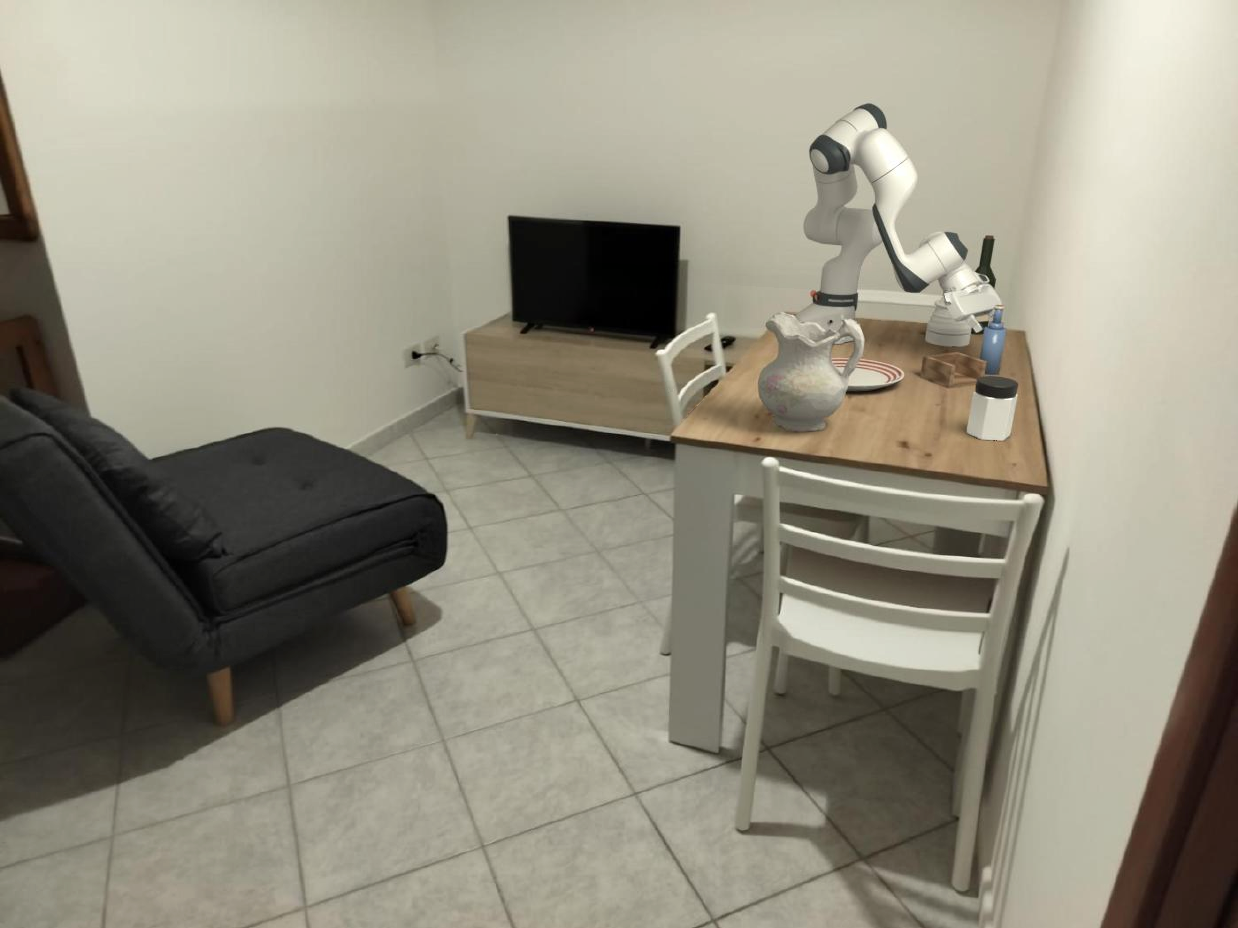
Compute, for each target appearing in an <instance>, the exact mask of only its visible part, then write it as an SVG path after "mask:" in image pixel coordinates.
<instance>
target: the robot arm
mask: <svg viewBox="0 0 1238 928" xmlns="http://www.w3.org/2000/svg"><path fill="white" fill-rule="evenodd" d="M808 153H809V154H808V155H809V160H810V162H811V164H812V171H813V177H814V182H815V186H816V193H817V201H816V204H815V206H814V207H812V208H811V209H810V210H809V211H808V212H807V213H806V215H805V217H804V220H803V224H802V225H803V227H802V228H803V232H804V234H805V237H806V238H807V240H809V241H812V242H815V243H818V244H821V245H830V246H831V245H833V246H841V249H840V252H839V255H836V256H835V257H833V258H830V259H829V260H828V261H826V262H825V263H824V265H823V266H822V268H821V276H820V286H819V287H820V288H819V290H818V291H817V290H814V289H813V290H811V291H810V293H809V294H810V297H811V298H812V303H810V304H809V305H807V306H806V307H805V308H803V309H801V310H800V311H798V312H796V314H795V315H794V316H795V317H796V319H797V320H798V322H800V323H802V322H816V323H818V324H819V325H820V326H821V327H822V328H823V329H825V331H832V330H834V331H836V332H837V331H838V330H839V329H840V327H841V326H842V324H843V321H842V320H844V319H852V318H853V319H855V320H856V311H857V308H858V303H859V293H858V285H859V279H860V273H861V269H862V266H863V263H864V261H865V259H866V258H867V257H868V255H869V254H870V253H871V252H872V251H873V250H874V249H875V248H877V247H878V246H879V245H881V244H882V243H883V245H884V248H885V250H886V254H887V255H888V257H889V260H890V263H891V265H892V270H893V275H894V277H895V280H896V282H897V284H898V286H899V287H900V288H901V290H903V291H904V292H905V293H910V294H918V293H919V294H920V293H921V292H923V290H925V289H926V288H927V287H929V286H930V285H931V284H932V283H934V282H936V281H938V284H939V287H940V288H941V289H942V297H943V298H944V304H945V306H946V308H947V310H948V312H949V314H950V315H951V317H952V318H953V320H955V321H956V322H959V321H963V320H965V322H966V323H967V324H968V325H969V326H971V327H972V328H973V329H974V331H975V332H976V333H978V332H981V331H982V330H983V329H984V327H983V326H982V324H981V323H980V324H979V323H978V322H977V321H976V320H975V317H980V316H984V315H988V316H989V317H990V319H991V321H993V317H994V311H995V309H994V306H995V305H1003V302H1002V299H1001V298H1000V296H999V294H998V293H997V291H996V290H995V289H994V288H993V287H992V286H991V285H990V284H987V283H988V282H989V279H988V277H987V276H985V275H982V274H978V273H976V272H975V271H974V270H973V269H972V267H971V266H970V265H969V264H967V263H966V258H967V255H968V252H969V249H968V248H967V247H966V246H965V245H964V243H963V242H962V241H961V239H960V238H959V237H960V236H959V235H958V233H956V232H953V231H941V230H937V231H935V232H934V231H933V232H932V233H930V234H928V235H927V236H925V237H924V238H923V239H922V241H921V242H920V243H919V245H918V248H917V249H916V250H914V251H912V252H911V253H908V254H907V253H905V251H904V248H903V246H902V242H901V241H900V239H899V236H898V233H897V230H896V220H897V217H898V216H899V214H900V212H901V211H902V209H903V208H904V207H905V205H906V204H907V203H908V202H909V200H910V199H911V197H912V196H913V194H914V192H915V191H916V188H917V185H918V183H919V182H918V180H919V174H918V172H917V169H916V167H915V165H914V162H913V161H912V160H911V157H910V156H909V154H908V153H907V152H906V150H905V149H904V147H903V146H902V145H901V143H900V142H899V141H898V140H897V138H895V137H894V135H893V134H892V133H891V132H889V131H888V123H887V118H886V116H885V113H884V112H883V110H882V109H881V108H880V107H879V106H877V105H876V104H874V103H869V102H867V103H864V104H861V105H859V106H856V107H855V108H854V109H853V110H851V111H850V112H848V113H846V114H845V115H844V116H842V117H841V118H839V119H837V120H836V121H835V123H833V124H832V125H831V126H830V127H828V128H827V129H826V130H825V131H824V132H823V133H822V134H820V135H818V136H817V137H816V138H815V139H814V140H813V142H812V143H811V144H810V146H809V150H808ZM855 166H858V167H859V168H860V169H861V170H862V173H864V175H865V177H866V180H867V181H868V182H869V184H870V186H871V188H872V189H873V193H874V203H873V205H872V207H871V209H869V208H859V207H858V208H856V207H847V206H846V205H847V204H849V203H850V202H851V201H852V200H853V199H854V198H855V196H856V195H857V192H858V182H857V181H858V180H857V175H856V171H855ZM852 341H853V342H854V339H853V338H852V337H850V336H847V337H843V338H841V339H840V340H839V341H837V342H835V343H834V344H836V345H840V344H841V345H842V344H844V343H847V342H848V343H849V342H852ZM834 344H833V345H834Z"/></svg>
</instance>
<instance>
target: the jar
mask: <svg viewBox="0 0 1238 928" xmlns="http://www.w3.org/2000/svg"><path fill="white" fill-rule="evenodd" d="M1018 389H1019V383H1018V382H1017V380H1015V379H1011V378H1009V377H1004V376H1003V377H1002V376H997V375H984V377H980V378H978V379H977V382H976V384H975V390H974V391H973V392H972V396H971V397H972V398H971V403H970V409H969V416H968V421H967V426H966V433H967V435H970V436H972V437H974V436H975V438H976V437H977V439H979V440H981V441H993V440H995V441H996V440H997V441H996V442H1004V441H1005V440H1006V439H1008V438H1009V437H1010V436H1011V432H1012V428H1013V423H1014V422H1013V421H1014V417H1015V412H1016V407H1017V401H1018V396H1019V395H1018ZM995 441H994V442H995Z"/></svg>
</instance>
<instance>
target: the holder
mask: <svg viewBox="0 0 1238 928" xmlns="http://www.w3.org/2000/svg"><path fill="white" fill-rule="evenodd" d="M986 363H987V361H983V360H980V359H979V358H976V357H973V356H971V355H967V354H965V353H962V352H958V351H954V352H946V353H945V352H944V353H939V354H938V353H937V354H931V355H924V356H922V363H921V370H920V378H921V379H923V380H926V381H928V382H930V383H933V384H936V385H939V386H941V387H944V388H947V389H954V388H959V387H960V386H961V387H967V385H968V386H972V385H973V386H974V384H975V385H976V382H977V379H978V378H980V377H984V376H986V374H985V369H986ZM953 387H954V388H953ZM961 387H960V388H961Z"/></svg>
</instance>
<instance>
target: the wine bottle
mask: <svg viewBox="0 0 1238 928" xmlns="http://www.w3.org/2000/svg"><path fill="white" fill-rule="evenodd" d="M994 237H995V236H994V235H991V234H990V235H989V234H988V235H985V237H984V238H983V239H982V245H981V253H980V258H979V265H978V267H977V268H976V270H975V271H974V272H976V273H978V274H982V275H985V276H987V277H988V279H989V282H988V283H987V284H990V285H991V286H992V287H993V288H994V290H995V287H996V283H997V279H996V276H995V273H994V271H993V270H992V267H991V266H992V265H991V263H992V258H993V251H994V246H995V240H996V239H995V238H994ZM990 319H991V317H989V316H988V315H984V316H980V317H975V320H976V321H977V322H978V323H979V324H980V323H981V324H982V326H983V327H984V328H985V327H986V326H989V322H990ZM983 334H984V329H983V330H982V331H981V332H978V333H976V332H975V331H974V329H973V328H972V329H971V335H978V336H979V335H983Z"/></svg>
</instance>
